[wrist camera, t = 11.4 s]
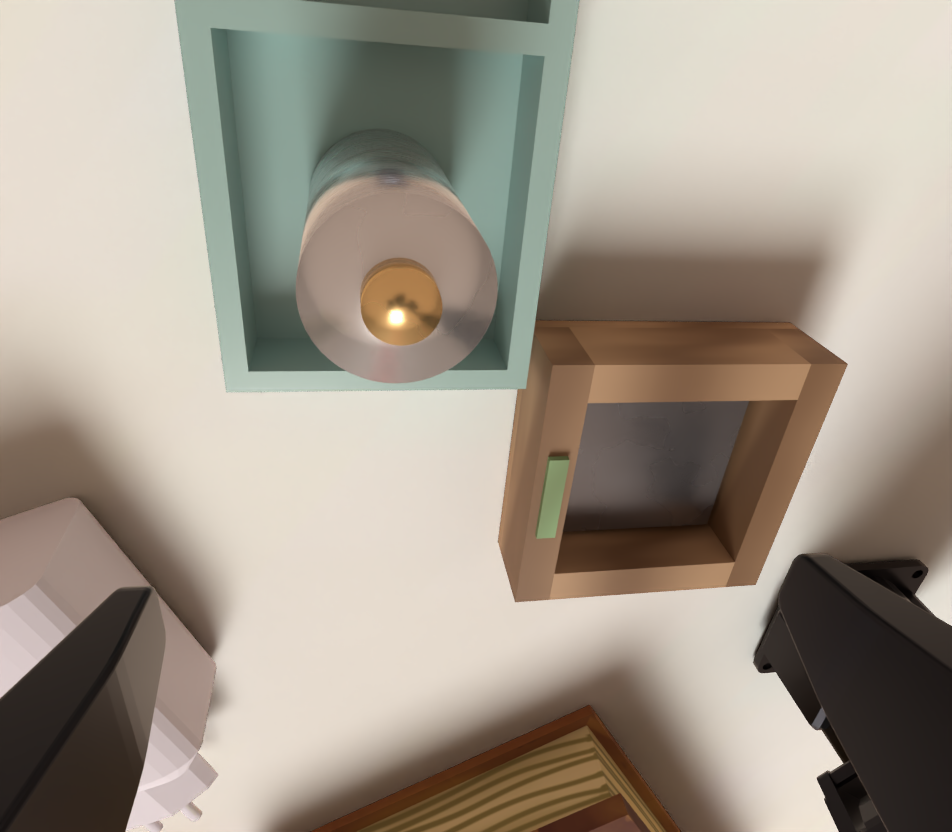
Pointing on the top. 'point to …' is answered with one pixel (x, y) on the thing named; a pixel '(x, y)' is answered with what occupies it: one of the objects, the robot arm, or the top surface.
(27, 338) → the top surface
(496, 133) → the trough tray
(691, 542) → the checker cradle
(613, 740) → the diary
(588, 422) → the plate
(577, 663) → the top surface
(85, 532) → the charger
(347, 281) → the steel cell
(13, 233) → the top surface
